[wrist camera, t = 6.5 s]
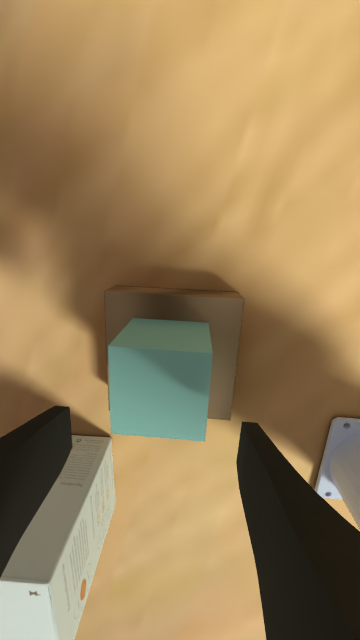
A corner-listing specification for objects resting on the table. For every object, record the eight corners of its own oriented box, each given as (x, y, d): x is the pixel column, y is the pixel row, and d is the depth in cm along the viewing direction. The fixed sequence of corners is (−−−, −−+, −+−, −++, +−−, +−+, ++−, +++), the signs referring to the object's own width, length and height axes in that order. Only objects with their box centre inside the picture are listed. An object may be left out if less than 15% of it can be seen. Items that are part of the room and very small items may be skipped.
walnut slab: (237, 290, 19) (244, 299, 16) (225, 397, 22) (230, 420, 19) (117, 284, 20) (104, 291, 17) (120, 389, 22) (108, 410, 19)
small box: (52, 431, 23) (-59, 573, 13) (113, 435, 23) (48, 584, 13) (61, 499, 26) (-28, 665, 15) (117, 504, 25) (63, 677, 15)
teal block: (208, 322, 17) (212, 353, 12) (203, 390, 18) (205, 441, 14) (132, 318, 17) (107, 346, 12) (133, 384, 19) (110, 433, 14)
